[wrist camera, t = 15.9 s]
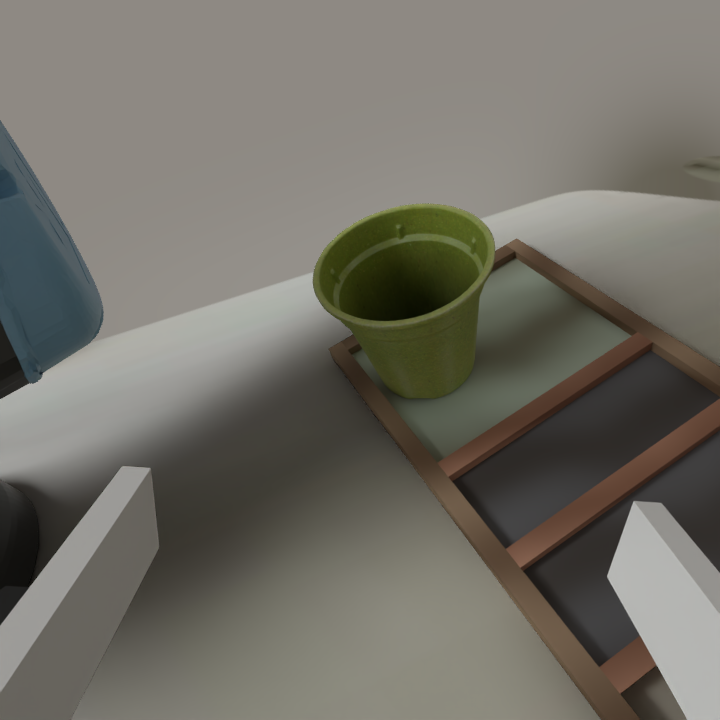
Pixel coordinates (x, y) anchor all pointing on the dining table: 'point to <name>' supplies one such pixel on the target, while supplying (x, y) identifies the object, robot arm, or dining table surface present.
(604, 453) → the frame
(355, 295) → the plant pot
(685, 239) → the dining table surface
